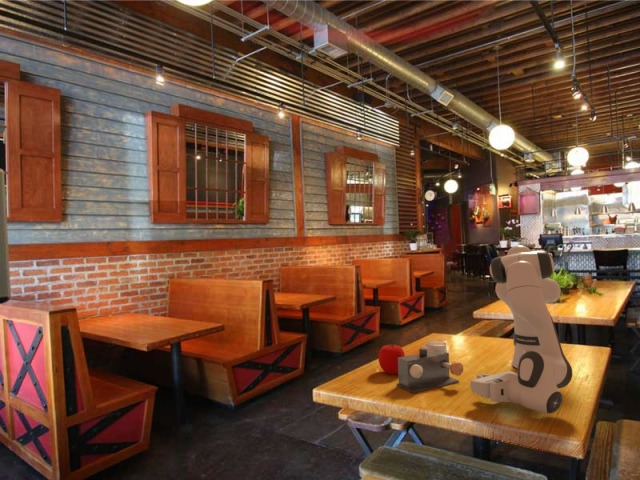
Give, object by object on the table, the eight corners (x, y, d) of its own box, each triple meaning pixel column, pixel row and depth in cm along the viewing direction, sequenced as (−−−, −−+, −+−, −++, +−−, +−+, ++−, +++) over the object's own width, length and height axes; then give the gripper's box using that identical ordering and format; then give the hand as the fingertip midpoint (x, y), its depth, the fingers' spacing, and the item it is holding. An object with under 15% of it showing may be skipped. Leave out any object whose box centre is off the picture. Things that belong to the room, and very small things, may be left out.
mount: (458, 382, 173) (457, 354, 173) (413, 393, 163) (412, 364, 163) (441, 375, 182) (440, 349, 182) (396, 385, 172) (395, 358, 172)
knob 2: (463, 374, 169) (463, 361, 169) (453, 376, 167) (453, 363, 167) (446, 368, 177) (446, 356, 177) (437, 370, 175) (436, 358, 175)
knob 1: (423, 377, 167) (422, 364, 167) (412, 379, 165) (412, 366, 165) (407, 371, 176) (407, 358, 176) (397, 373, 173) (397, 360, 173)
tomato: (411, 374, 185) (410, 345, 185) (388, 379, 180) (387, 348, 180) (395, 367, 196) (394, 339, 196) (373, 371, 192) (372, 342, 192)
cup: (448, 374, 183) (447, 346, 183) (426, 374, 185) (425, 346, 185) (446, 368, 192) (445, 341, 192) (425, 367, 194) (424, 340, 194)
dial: (428, 354, 175) (428, 345, 175) (425, 356, 172) (425, 347, 172) (421, 353, 177) (420, 345, 177) (418, 355, 174) (417, 346, 174)
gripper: (531, 372, 151) (499, 363, 163) (490, 383, 142) (458, 372, 154) (532, 391, 151) (499, 379, 163) (490, 403, 142) (459, 390, 154)
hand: (479, 376), depth 159 cm, fingers closed
